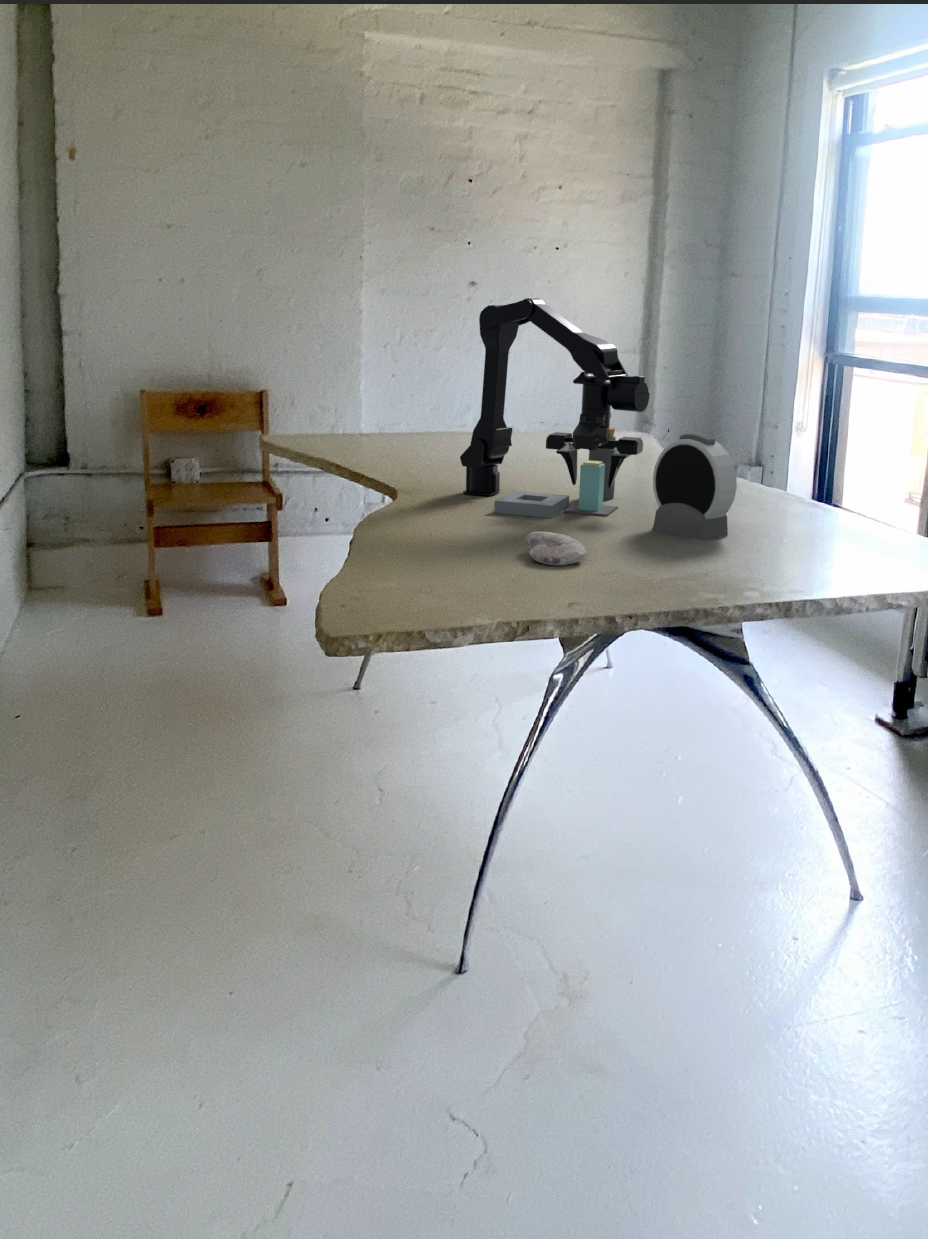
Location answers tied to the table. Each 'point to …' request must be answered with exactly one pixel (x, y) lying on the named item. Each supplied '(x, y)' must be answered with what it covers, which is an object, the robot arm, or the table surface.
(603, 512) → the pad
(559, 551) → the fossil
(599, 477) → the plug
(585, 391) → the robot arm
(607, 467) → the bottle
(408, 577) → the table surface
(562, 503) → the grey square socket block
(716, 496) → the alarm clock
